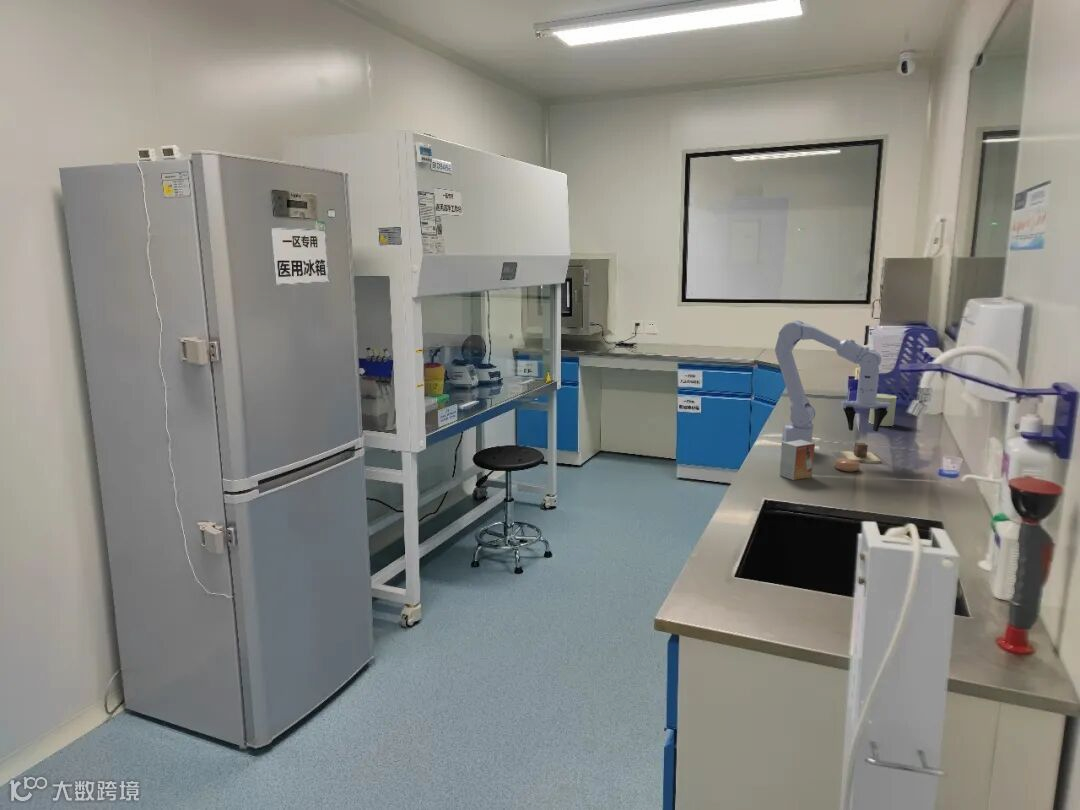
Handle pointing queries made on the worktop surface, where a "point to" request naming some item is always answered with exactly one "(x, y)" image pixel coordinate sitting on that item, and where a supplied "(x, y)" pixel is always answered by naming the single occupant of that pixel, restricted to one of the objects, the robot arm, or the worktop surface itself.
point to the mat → (861, 462)
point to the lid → (860, 454)
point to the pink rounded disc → (847, 464)
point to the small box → (797, 459)
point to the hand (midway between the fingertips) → (862, 430)
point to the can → (889, 418)
